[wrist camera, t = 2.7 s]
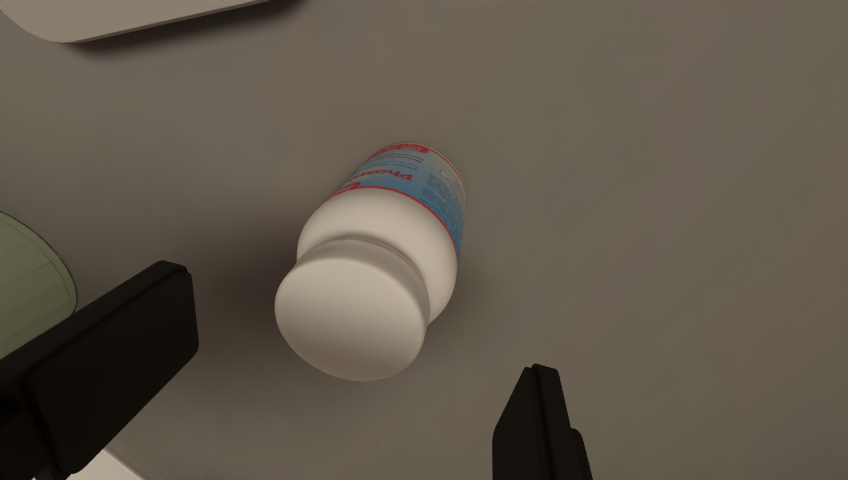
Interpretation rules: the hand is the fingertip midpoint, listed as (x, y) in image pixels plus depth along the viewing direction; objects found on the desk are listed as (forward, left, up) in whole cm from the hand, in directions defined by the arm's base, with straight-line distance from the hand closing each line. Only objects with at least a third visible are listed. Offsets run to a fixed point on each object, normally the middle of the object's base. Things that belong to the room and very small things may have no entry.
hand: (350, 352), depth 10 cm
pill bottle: (0, 0, -12) cm, 12 cm away
